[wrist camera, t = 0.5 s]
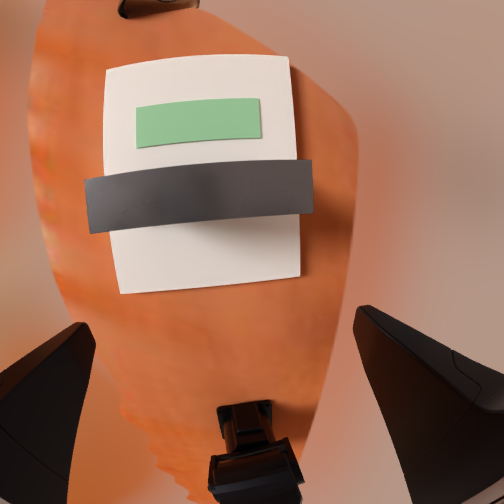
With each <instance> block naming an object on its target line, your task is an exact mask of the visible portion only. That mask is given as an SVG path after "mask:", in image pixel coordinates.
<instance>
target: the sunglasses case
mask: <svg viewBox="0 0 504 504" xmlns="http://www.w3.org/2000/svg"><path fill="white" fill-rule="evenodd" d="M199 2H200V1H199V0H120V2H119V6H118V13H119V15H120V16H121V17H123V18H125V19H127V18H131V17H135V16H140V15H145V14H151V13H157V12H163V11H172V10H179V9H185V8H191V7H194V8H199Z"/></svg>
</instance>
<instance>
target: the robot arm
mask: <svg viewBox="0 0 504 504" xmlns="http://www.w3.org/2000/svg"><path fill="white" fill-rule="evenodd" d="M353 333H354V336H355V340H356V343H357V346H358V350H359V353H360V356H361V360H362V364H363V367H364V370H365V373H366V375H367V378H368V380H369V383H370V385H371V387H372V390H373V392H374V395H375V397H376V400H377V402H378V405H379V407H380V410H381V413H382V415H383V418H384V420H385V423H386V426H387V428H388V431H389V434H390V436H391V439H392V442H393V445H394V448H395V450H396V453H397V456H398V459H399V462H400V465H401V468H402V471H403V473H404V477H405V481H406V484H407V487H408V490H409V493H410V497H411V500H412V503H413V504H504V374H502V373H500V372H498V371H495V370H493V369H491V368H489V367H486V366H484V365H482V364H480V363H478V362H475V361H473V360H471V359H469V358H467V357H466V356H464V355H462V354H460V353H458V352H456V351H454V350H451V349H450V348H449V347H447V346H445V345H443V344H441V343H439V342H437V341H436V340H434V339H432V338H430V337H428V336H426V335H425V334H423V333H421V332H419V331H417V330H416V329H413V328H412V327H410V326H408V325H406V324H404V323H402V322H401V321H399V320H397V319H395V318H393V317H391V316H389V315H388V314H386V313H384V312H382V311H380V310H378V309H376V308H374V307H373V306H371V305H364V306H359V307H358V308H357V310H356V314H355V319H354V324H353ZM95 348H96V342H95V339H94V337H93V335H92V333H91V330H90V328H89V326H88V324H87V323H85V322H75V323H74V324H72V325H71V326H69V327H68V328H66V329H64V330H63V331H61V332H60V333H58V334H57V335H55V336H54V337H52V338H51V339H49V340H48V341H46V342H45V343H43V344H42V345H40V346H39V347H37V348H36V349H34V350H33V351H31V352H30V353H28V354H27V355H26V356H24V357H22V358H21V359H20V360H18V361H17V362H15V363H14V364H13V365H11V366H9V367H8V368H7V369H5V370H4V371H2V372H1V373H0V504H67V493H68V484H69V482H68V481H69V475H70V468H71V461H72V455H73V449H74V443H75V438H76V433H77V428H78V424H79V419H80V415H81V411H82V407H83V403H84V399H85V395H86V391H87V388H88V384H89V379H90V373H91V368H92V363H93V357H94V353H95ZM220 410H222V411H220ZM217 415H218V420H219V424H220V429H221V433H222V438H223V439H225V443H226V450H227V454H222V455H217V456H216V455H213V456H211V461H210V466H209V477H208V484H209V485H208V490H209V491H210V492H211V493H212V494H213V496H214V498H215V499H216V501H217V502H220V504H302V500H303V498H302V495H301V492H300V490H299V487H298V485H299V484H302V483H305V481H304V479H303V476H302V473H301V470H300V468H299V465H298V462H297V460H296V457H295V455H294V452H293V450H292V447H291V445H290V442H289V440H288V437H286V438H283V439H282V440H279V441H276V439H275V436H274V433H273V430H272V404H271V401H269V400H265V401H259V402H253V403H246V404H238V405H230V406H222V407H218V408H217Z"/></svg>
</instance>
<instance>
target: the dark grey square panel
mask: <svg viewBox="0 0 504 504" xmlns="http://www.w3.org/2000/svg"><path fill="white" fill-rule="evenodd" d="M85 193H86V204H87V214H88V222H89V230H90V234H93V233H101V232H109V231H117V230H125V229H133V228H142V227H151V226H160V225H170V224H179V223H190V222H200V221H211V220H223V219H235V218H248V217H261V216H276V215H291V214H309V213H314V208H313V179H312V160H250V161H229V162H214V163H201V164H190V165H180V166H171V167H162V168H154V169H146V170H139V171H132V172H126V173H119V174H113V175H108V176H102V177H97V178H91V179H86V180H85Z"/></svg>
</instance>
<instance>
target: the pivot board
mask: <svg viewBox="0 0 504 504" xmlns="http://www.w3.org/2000/svg"><path fill="white" fill-rule="evenodd" d="M103 158H104V176H108V175H113V174H119V173H126V172H132V171H139V170H146V169H154V168H162V167H171V166H180V165H190V164H201V163H214V162H229V161H250V160H297V152H296V137H295V123H294V110H293V99H292V88H291V78H290V68H289V59H288V57H286V56H273V55H251V54H221V55H200V56H187V57H177V58H168V59H160V60H154V61H147V62H141V63H136V64H131V65H126V66H121V67H117V68H112V69H108V70H106V81H105V94H104V114H103ZM110 238H111V245H112V251H113V258H114V263H115V269H116V274H117V279H118V284H119V289H120V294H127V293H140V292H153V291H165V290H177V289H188V288H199V287H209V286H219V285H229V284H238V283H248V282H257V281H265V280H274V279H282V278H291V277H299V276H300V221H299V214H291V215H276V216H261V217H248V218H235V219H223V220H211V221H200V222H190V223H179V224H170V225H160V226H151V227H142V228H133V229H125V230H117V231H110Z"/></svg>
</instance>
